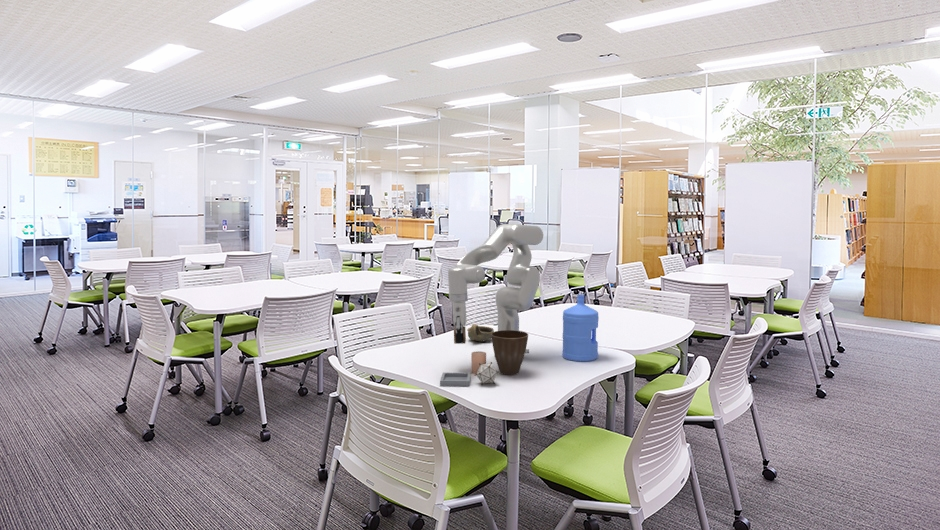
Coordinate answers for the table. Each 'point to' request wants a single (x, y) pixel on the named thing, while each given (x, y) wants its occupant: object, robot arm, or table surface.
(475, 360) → the peach round domed cylinder
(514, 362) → the plant pot
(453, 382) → the tray
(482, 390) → the table surface
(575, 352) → the water jug
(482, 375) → the game die
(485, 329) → the tan curved open container
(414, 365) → the table surface
